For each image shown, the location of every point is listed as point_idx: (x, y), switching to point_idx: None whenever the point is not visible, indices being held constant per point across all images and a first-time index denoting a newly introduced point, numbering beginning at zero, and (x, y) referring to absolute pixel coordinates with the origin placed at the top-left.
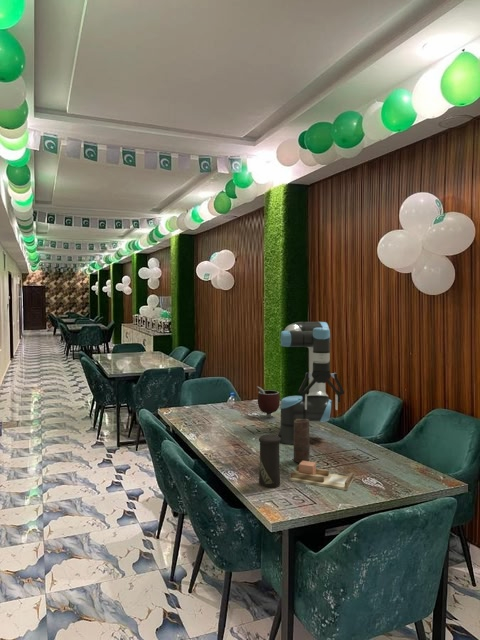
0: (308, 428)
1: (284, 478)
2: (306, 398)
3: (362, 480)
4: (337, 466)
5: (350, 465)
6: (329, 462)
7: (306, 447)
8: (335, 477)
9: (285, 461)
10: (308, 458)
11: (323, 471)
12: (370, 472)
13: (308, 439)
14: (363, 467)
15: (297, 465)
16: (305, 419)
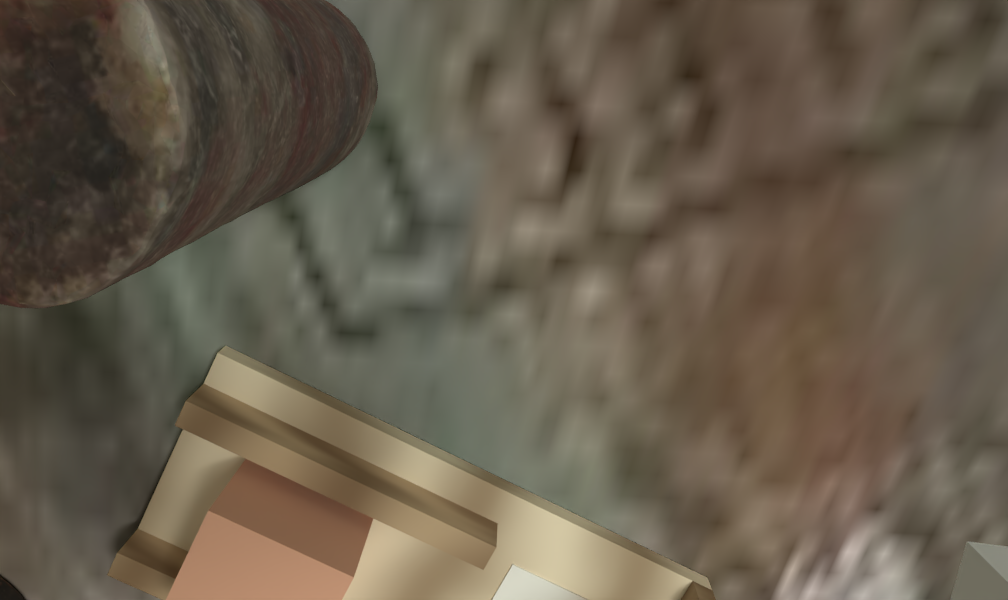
0: (219, 209)
1: (82, 516)
2: None
3: (782, 595)
4: (662, 243)
5: (814, 221)
6: (607, 114)
7: (279, 196)
8: (542, 592)
9: None
10: (347, 151)
11: (441, 545)
12: (941, 422)
13: (284, 176)
14: (931, 287)
15: (188, 407)
16: (100, 5)
